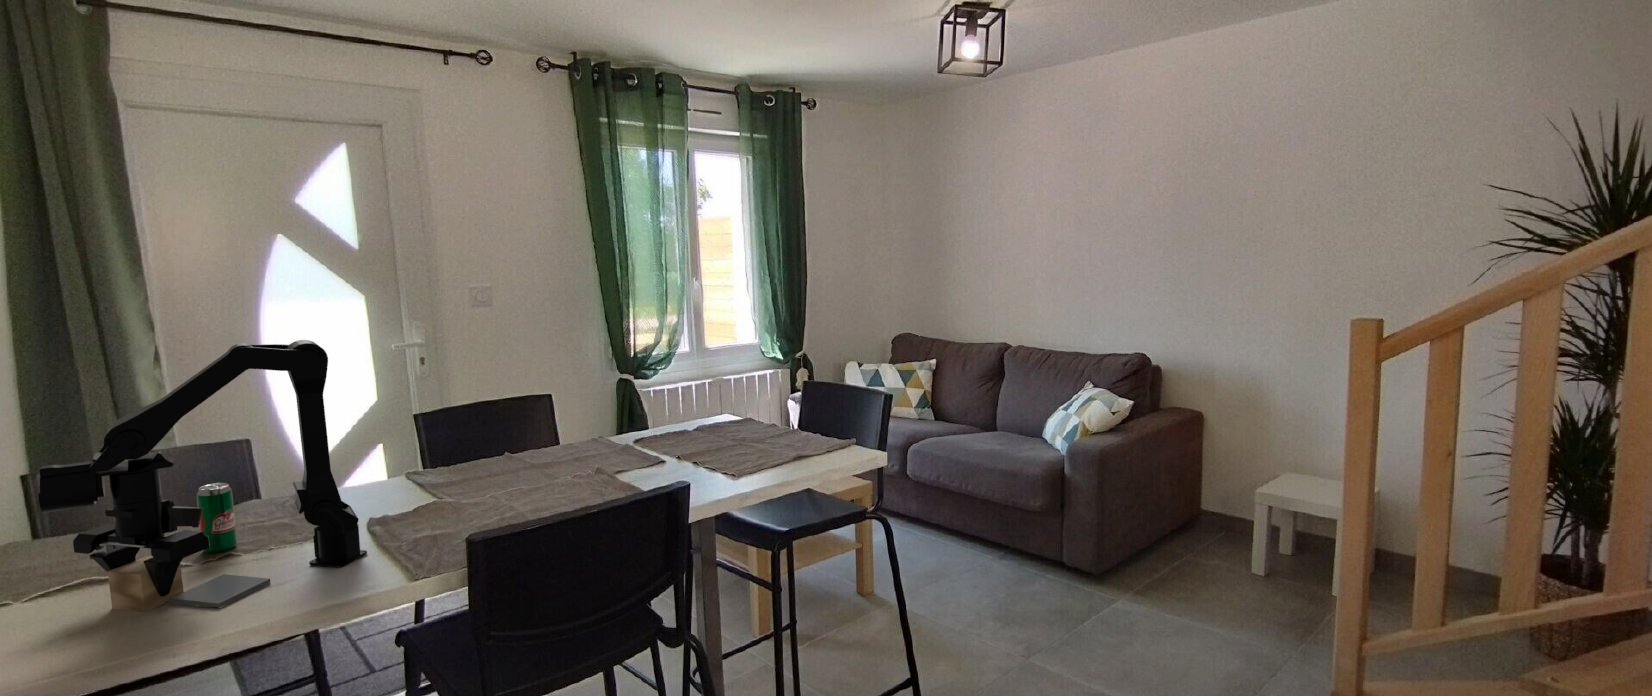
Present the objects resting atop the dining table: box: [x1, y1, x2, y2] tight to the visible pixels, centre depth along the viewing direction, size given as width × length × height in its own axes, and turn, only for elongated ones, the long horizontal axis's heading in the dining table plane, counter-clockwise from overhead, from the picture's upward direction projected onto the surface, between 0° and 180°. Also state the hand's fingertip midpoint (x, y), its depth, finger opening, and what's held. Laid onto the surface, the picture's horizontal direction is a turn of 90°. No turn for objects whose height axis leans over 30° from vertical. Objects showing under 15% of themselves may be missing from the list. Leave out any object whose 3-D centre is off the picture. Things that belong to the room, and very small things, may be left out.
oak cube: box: [107, 555, 184, 613], centre depth 119 cm, size 6×6×6 cm
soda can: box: [196, 482, 238, 554], centre depth 139 cm, size 5×5×12 cm
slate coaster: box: [169, 573, 271, 609], centre depth 122 cm, size 9×9×1 cm
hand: (147, 593), depth 119 cm, fingers closed on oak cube, 6 cm apart
